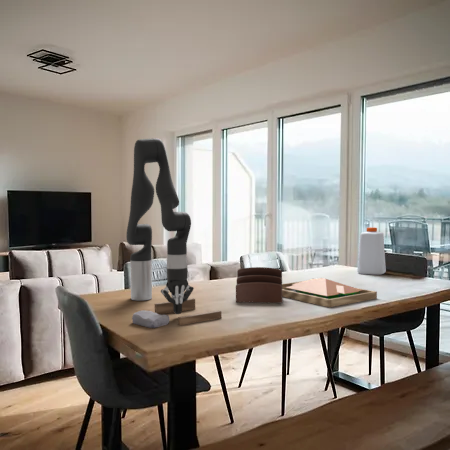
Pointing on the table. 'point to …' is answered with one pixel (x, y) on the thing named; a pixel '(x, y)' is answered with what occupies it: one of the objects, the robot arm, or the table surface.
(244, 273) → the letter holder
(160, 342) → the table surface
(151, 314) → the stone block
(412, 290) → the table surface
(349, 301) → the wooden picture frame
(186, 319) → the pair of wooden bars
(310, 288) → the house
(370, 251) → the plastic bottle
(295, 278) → the table surface
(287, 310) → the table surface
